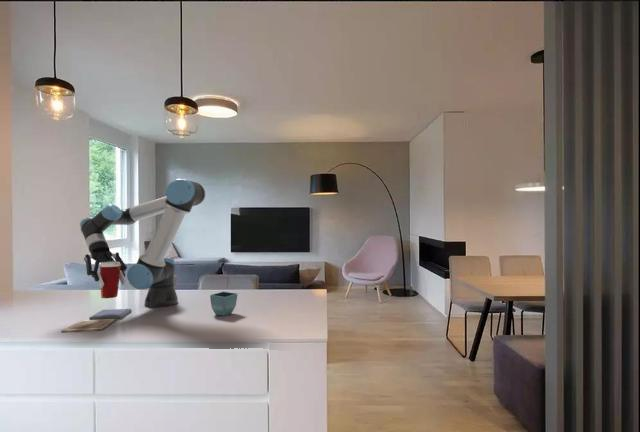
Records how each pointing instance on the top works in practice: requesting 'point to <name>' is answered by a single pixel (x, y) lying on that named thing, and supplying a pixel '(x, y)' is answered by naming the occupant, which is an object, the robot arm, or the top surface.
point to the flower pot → (223, 303)
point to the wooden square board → (90, 325)
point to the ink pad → (110, 314)
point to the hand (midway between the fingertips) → (113, 284)
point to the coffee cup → (110, 279)
